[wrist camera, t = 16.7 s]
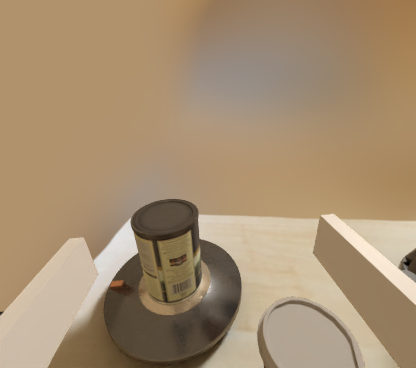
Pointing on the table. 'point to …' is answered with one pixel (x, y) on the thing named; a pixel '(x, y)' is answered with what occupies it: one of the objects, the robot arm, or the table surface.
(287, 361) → the disposable coffee cup
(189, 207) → the coffee can
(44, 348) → the robot arm
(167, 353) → the turntable platter
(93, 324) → the table surface
